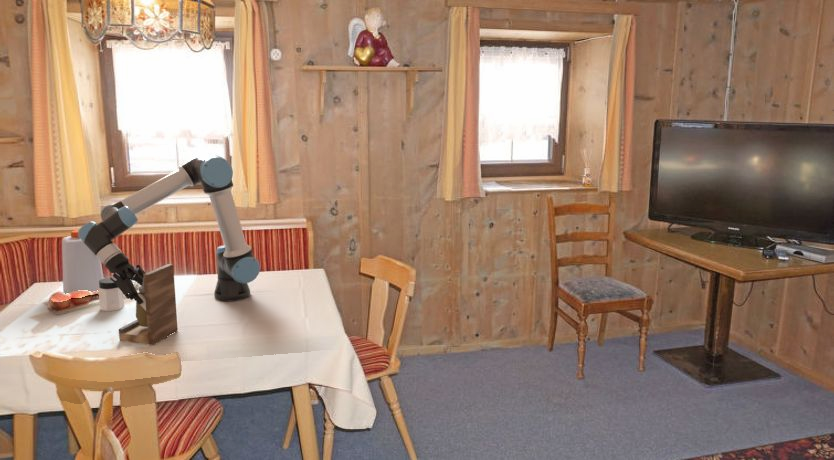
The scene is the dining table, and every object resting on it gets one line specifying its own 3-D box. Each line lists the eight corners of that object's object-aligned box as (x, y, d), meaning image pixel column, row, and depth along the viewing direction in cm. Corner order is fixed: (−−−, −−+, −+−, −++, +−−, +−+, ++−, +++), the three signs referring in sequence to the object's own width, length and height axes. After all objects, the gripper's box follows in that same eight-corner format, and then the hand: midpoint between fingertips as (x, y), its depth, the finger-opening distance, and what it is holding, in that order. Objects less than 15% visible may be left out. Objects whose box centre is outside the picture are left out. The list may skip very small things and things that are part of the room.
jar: (101, 312, 247) (98, 284, 244) (99, 306, 254) (96, 279, 251) (125, 309, 252) (123, 281, 249) (122, 303, 259) (120, 276, 256)
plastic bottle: (98, 285, 281) (93, 225, 275) (108, 293, 270) (102, 231, 264) (61, 291, 272) (54, 230, 266) (69, 300, 261) (62, 236, 255)
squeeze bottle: (141, 320, 228) (137, 274, 224) (163, 320, 228) (160, 274, 224) (133, 328, 220) (129, 280, 216) (156, 328, 220) (152, 280, 217)
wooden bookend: (177, 331, 230) (173, 264, 224) (153, 345, 217) (148, 274, 211) (145, 327, 233) (139, 261, 228) (119, 340, 220) (113, 271, 214)
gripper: (126, 258, 232) (166, 303, 232) (87, 272, 214) (132, 321, 214) (137, 246, 230) (178, 291, 230) (99, 259, 211) (144, 308, 211)
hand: (155, 306), depth 222 cm, fingers closed on squeeze bottle, 6 cm apart
